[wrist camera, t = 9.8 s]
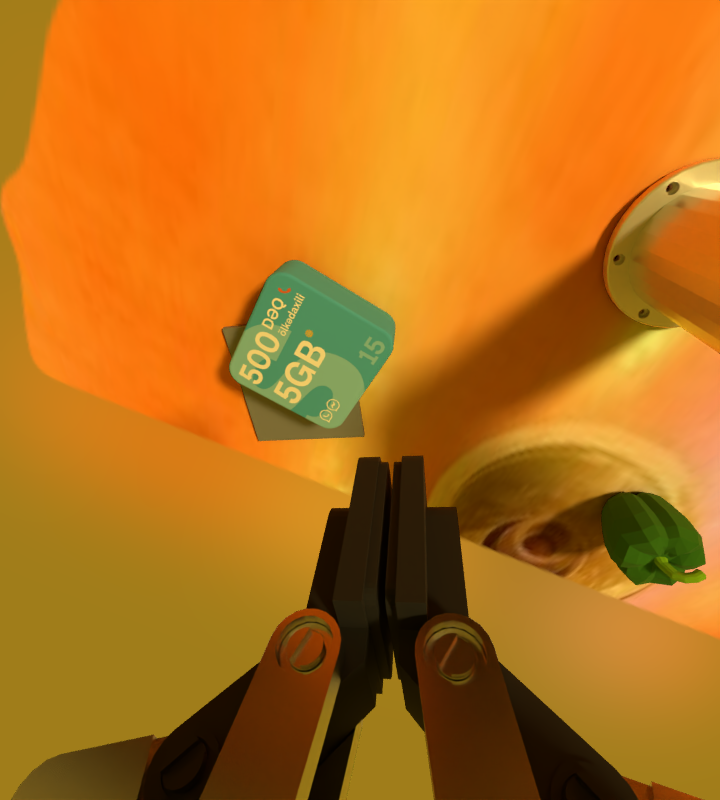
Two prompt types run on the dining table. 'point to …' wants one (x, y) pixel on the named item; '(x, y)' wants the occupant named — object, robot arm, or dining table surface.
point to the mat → (288, 412)
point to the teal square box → (312, 345)
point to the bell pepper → (651, 540)
